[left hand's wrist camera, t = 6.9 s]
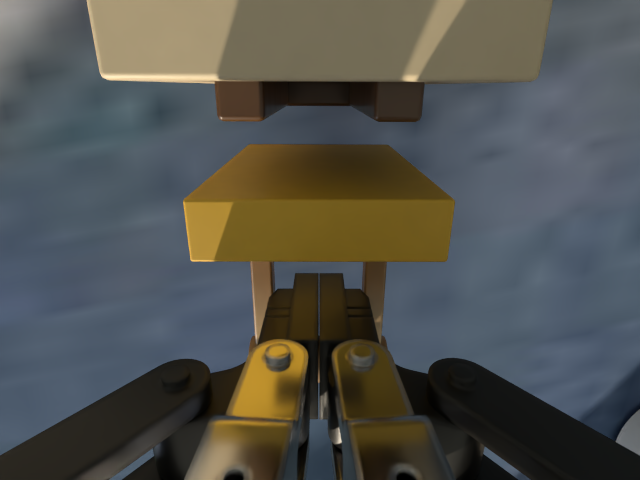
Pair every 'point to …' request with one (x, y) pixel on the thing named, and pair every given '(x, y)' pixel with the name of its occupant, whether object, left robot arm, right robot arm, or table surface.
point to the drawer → (318, 193)
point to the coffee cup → (631, 434)
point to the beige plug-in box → (320, 40)
